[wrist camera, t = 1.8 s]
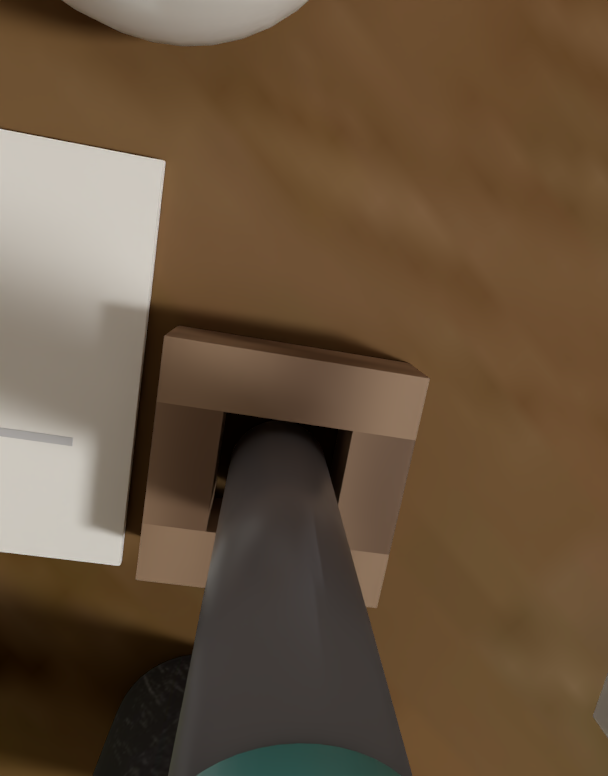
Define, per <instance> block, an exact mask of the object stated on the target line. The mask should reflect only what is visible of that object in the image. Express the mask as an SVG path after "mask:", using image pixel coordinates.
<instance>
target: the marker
mask: <svg viewBox="0 0 608 776" xmlns="http://www.w3.org/2000/svg"><path fill="white" fill-rule="evenodd" d="M168 776H412V773H411V769H410V766H409V762H408V758H407V755H406V751H405V747H404V744H403V740H402V736H401V733H400V729H399V726H398V722H397V718H396V715H395V711H394V707H393V704H392V700H391V697H390V693H389V689H388V686H387V682H386V678H385V675H384V671H383V667H382V664H381V660H380V657H379V653H378V649H377V646H376V642H375V638H374V635H373V631H372V627H371V624H370V620H369V617H368V613H367V609H366V606H365V602H364V598H363V595H362V591H361V587H360V584H359V580H358V577H357V573H356V569H355V566H354V562H353V558H352V555H351V551H350V547H349V544H348V540H347V537H346V533H345V529H344V526H343V522H342V518H341V515H340V511H339V507H338V504H337V500H336V497H335V493H334V489H333V486H332V482H331V478H330V475H329V471H328V467H327V464H326V460H325V457H324V453H323V450H322V448H321V446H320V444H319V442H318V441H317V439H316V438H315V437H314V436H313V435H312V434H311V433H310V432H309V431H308V430H306V429H305V428H303V427H301V426H299V425H297V424H294V423H291V422H286V421H270V422H265V423H262V424H259V425H257V426H255V427H253V428H252V429H250V430H249V431H247V432H246V433H245V434H244V435H243V436H242V437H241V438H240V439H239V441H238V442H237V444H236V445H235V447H234V449H233V452H232V455H231V460H230V465H229V470H228V475H227V480H226V485H225V490H224V495H223V500H222V505H221V510H220V515H219V520H218V526H217V531H216V536H215V541H214V546H213V551H212V556H211V561H210V566H209V571H208V576H207V581H206V586H205V591H204V596H203V601H202V606H201V611H200V616H199V622H198V627H197V632H196V637H195V642H194V647H193V652H192V657H191V662H190V667H189V672H188V677H187V682H186V687H185V692H184V697H183V702H182V707H181V713H180V718H179V723H178V728H177V733H176V738H175V743H174V748H173V753H172V758H171V763H170V768H169V773H168Z"/></svg>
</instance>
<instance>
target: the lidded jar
mask: <svg viewBox="0 0 608 776" xmlns="http://www.w3.org/2000/svg"><path fill="white" fill-rule="evenodd" d="M62 1H64V2H65V3H66V4H68V5H69V6H71V7H72V8H74V9H75V10H77V11H79V12H81V13H83V14H85V15H87V16H89V17H91V18H93V19H95V20H97V21H99V22H101V23H103V24H105V25H107V26H109V27H111V28H113V29H115V30H117V31H119V32H121V33H124V34H128V35H131V36H134V37H137V38H140V39H144V40H147V41H150V42H155V43H162V44H170V45H177V46H204V45H216V44H221V43H225V42H230V41H235V40H239V39H243V38H246V37H248V36H251V35H253V34H256V33H258V32H260V31H263V30H265V29H268V28H270V27H272V26H274V25H275V24H277V23H278V22H280V21H281V20H283V19H285V18H286V17H288V16H289V15H291V14H293V13H294V12H296V11H297V10H298V9H299V8H301V7H302V6H303V5H304V4H305V3H306V2H307V1H308V0H62Z"/></svg>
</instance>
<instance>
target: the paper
mask: <svg viewBox="0 0 608 776" xmlns="http://www.w3.org/2000/svg"><path fill="white" fill-rule="evenodd" d="M165 163H166V162H165V161H164V160H159V159H154V158H148V157H143V156H138V155H133V154H128V153H122V152H117V151H112V150H107V149H102V148H97V147H91V146H86V145H81V144H76V143H71V142H65V141H60V140H55V139H50V138H45V137H40V136H34V135H29V134H24V133H19V132H14V131H8V130H3V129H0V552H7V553H15V554H24V555H32V556H40V557H49V558H57V559H66V560H74V561H82V562H91V563H99V564H108V565H116V566H120V564H121V562H122V555H123V545H124V536H125V527H126V518H127V509H128V500H129V491H130V482H131V473H132V463H133V454H134V445H135V436H136V427H137V418H138V409H139V400H140V391H141V381H142V372H143V363H144V354H145V345H146V336H147V327H148V318H149V309H150V299H151V290H152V281H153V272H154V263H155V254H156V245H157V236H158V227H159V217H160V208H161V199H162V190H163V181H164V172H165Z"/></svg>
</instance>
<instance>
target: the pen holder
mask: <svg viewBox="0 0 608 776" xmlns="http://www.w3.org/2000/svg"><path fill="white" fill-rule="evenodd" d="M429 380H430V378H428V377H427V376H426V375H424V374H423V373H422V372H420V371H419V370H418V369H416V368H415V367H414V366H412V365H411V364H410V363H405V362H399V361H393V360H387V359H381V358H375V357H369V356H363V355H357V354H350V353H344V352H338V351H332V350H326V349H320V348H314V347H308V346H302V345H295V344H289V343H283V342H277V341H271V340H265V339H259V338H253V337H247V336H240V335H234V334H228V333H222V332H216V331H210V330H204V329H198V328H192V327H185V326H179V325H178V326H177V327H176V328H174V329H173V330H171V331H170V332H169V333H167V334H166V335H164V342H163V350H162V359H161V367H160V376H159V384H158V393H157V402H156V410H155V419H154V427H153V436H152V444H151V453H150V461H149V470H148V478H147V487H146V496H145V504H144V513H143V521H142V530H141V538H140V547H139V555H138V564H137V572H136V580H142V581H150V582H159V583H167V584H176V585H184V586H193V587H202V588H205V586H206V581H207V576H208V571H209V566H210V561H211V556H212V551H213V546H214V541H215V536H216V531H217V526H218V520H219V515H220V510H221V505H222V500H223V499H220V498H214V495H215V488H216V481H217V474H218V467H219V461H220V454H221V447H222V440H223V434H224V427H225V420H226V413H227V412H229V413H236V414H242V415H249V416H256V417H262V418H269V419H276V420H282V421H289V422H296V423H303V424H309V425H316V426H323V427H329V428H336V429H339V430H338V435H337V440H336V445H335V450H334V455H333V460H332V465H331V470H330V478H331V482H332V486H333V489H334V493H335V497H336V500H337V504H338V507H339V511H340V515H341V518H342V522H343V526H344V529H345V533H346V537H347V540H348V544H349V547H350V551H351V555H352V558H353V562H354V566H355V569H356V573H357V577H358V580H359V584H360V587H361V591H362V595H363V598H364V602H365V606H366V607H373V608H377V605H378V601H379V596H380V592H381V588H382V583H383V579H384V575H385V570H386V566H387V562H388V557H389V553H390V549H391V544H392V540H393V536H394V531H395V527H396V523H397V518H398V514H399V510H400V505H401V501H402V497H403V492H404V488H405V484H406V479H407V475H408V471H409V466H410V462H411V458H412V453H413V449H414V445H415V440H416V436H417V432H418V427H419V423H420V419H421V414H422V410H423V406H424V401H425V397H426V393H427V388H428V384H429Z"/></svg>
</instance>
